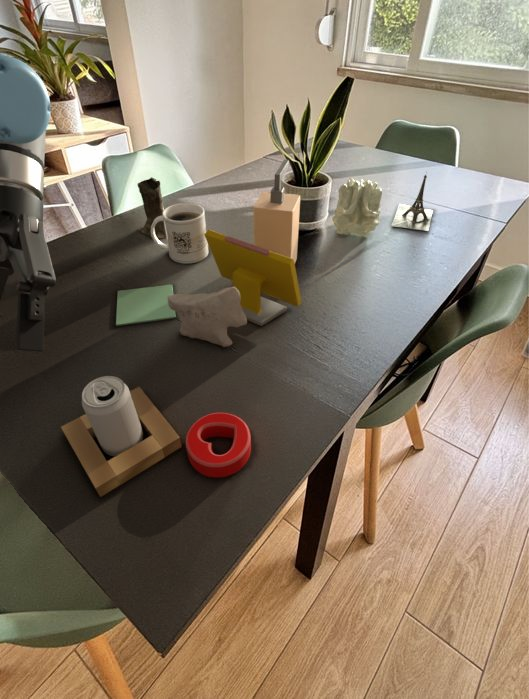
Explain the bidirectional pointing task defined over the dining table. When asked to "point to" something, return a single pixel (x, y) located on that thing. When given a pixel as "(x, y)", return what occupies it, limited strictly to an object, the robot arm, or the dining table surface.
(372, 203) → the wavy plaster lump
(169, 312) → the mat
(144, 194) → the tree stump
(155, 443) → the can stand
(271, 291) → the yellow framed monitor
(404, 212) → the eiffel tower figurine
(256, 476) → the dining table surface
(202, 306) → the sculpture
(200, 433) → the decorative ornament
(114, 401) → the beverage can
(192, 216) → the mug
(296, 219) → the soap dispenser
